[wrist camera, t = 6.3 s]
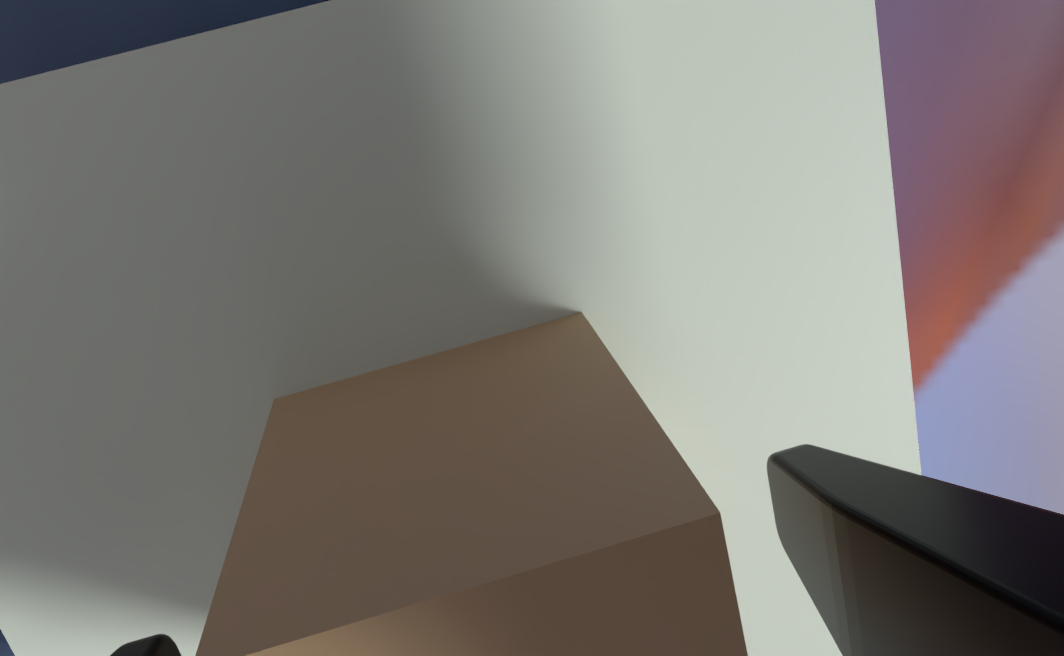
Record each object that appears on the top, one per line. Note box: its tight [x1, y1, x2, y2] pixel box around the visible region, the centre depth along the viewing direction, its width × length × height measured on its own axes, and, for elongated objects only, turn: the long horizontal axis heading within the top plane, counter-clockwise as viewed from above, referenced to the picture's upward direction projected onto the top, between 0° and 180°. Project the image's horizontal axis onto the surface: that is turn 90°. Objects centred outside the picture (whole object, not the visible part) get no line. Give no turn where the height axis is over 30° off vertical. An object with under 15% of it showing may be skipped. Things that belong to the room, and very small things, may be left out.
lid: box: [0, 0, 921, 656], centre depth 9 cm, size 11×11×5 cm
